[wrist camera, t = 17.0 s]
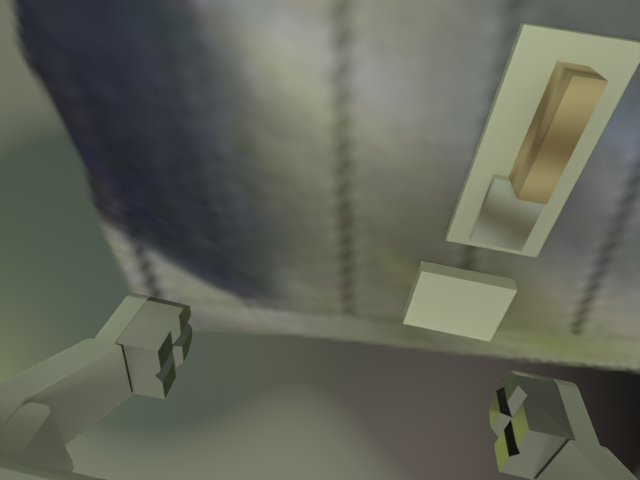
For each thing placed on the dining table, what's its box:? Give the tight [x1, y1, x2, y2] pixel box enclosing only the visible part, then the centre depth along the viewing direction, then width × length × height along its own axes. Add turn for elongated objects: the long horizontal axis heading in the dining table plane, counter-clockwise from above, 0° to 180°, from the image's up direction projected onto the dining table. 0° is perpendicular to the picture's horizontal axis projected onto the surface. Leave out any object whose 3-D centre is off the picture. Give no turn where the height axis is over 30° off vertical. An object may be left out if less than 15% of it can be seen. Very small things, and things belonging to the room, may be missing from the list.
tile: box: [403, 261, 517, 342], centre depth 49 cm, size 2×10×8 cm
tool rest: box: [445, 22, 640, 257], centre depth 39 cm, size 20×9×1 cm, turn 173°
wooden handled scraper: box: [469, 61, 608, 251], centre depth 37 cm, size 17×5×4 cm, turn 173°
